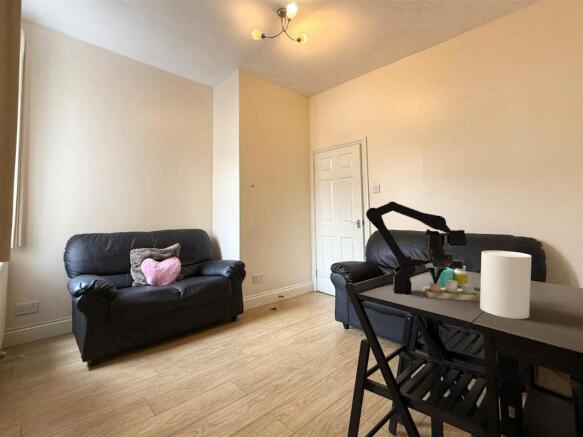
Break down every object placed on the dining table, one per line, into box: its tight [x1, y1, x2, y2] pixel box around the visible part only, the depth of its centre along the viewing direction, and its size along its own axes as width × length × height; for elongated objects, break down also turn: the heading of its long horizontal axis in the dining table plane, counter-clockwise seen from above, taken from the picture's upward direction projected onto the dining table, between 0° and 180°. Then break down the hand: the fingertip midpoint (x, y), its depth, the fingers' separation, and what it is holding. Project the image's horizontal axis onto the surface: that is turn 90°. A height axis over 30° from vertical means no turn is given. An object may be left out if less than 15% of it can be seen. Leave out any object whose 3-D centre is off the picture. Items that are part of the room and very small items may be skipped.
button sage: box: [462, 283, 475, 295], centre depth 111 cm, size 4×4×4 cm
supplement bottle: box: [453, 265, 468, 289], centre depth 123 cm, size 5×5×10 cm
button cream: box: [446, 280, 457, 293], centre depth 113 cm, size 4×4×4 cm
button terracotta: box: [429, 281, 441, 293], centre depth 114 cm, size 4×4×4 cm
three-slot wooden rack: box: [422, 286, 480, 302], centre depth 113 cm, size 19×10×2 cm, turn 75°
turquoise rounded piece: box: [431, 267, 454, 288], centre depth 126 cm, size 8×8×8 cm
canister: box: [479, 250, 532, 320], centre depth 96 cm, size 14×14×20 cm
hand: (435, 283), depth 114 cm, fingers closed, pressing on button terracotta
